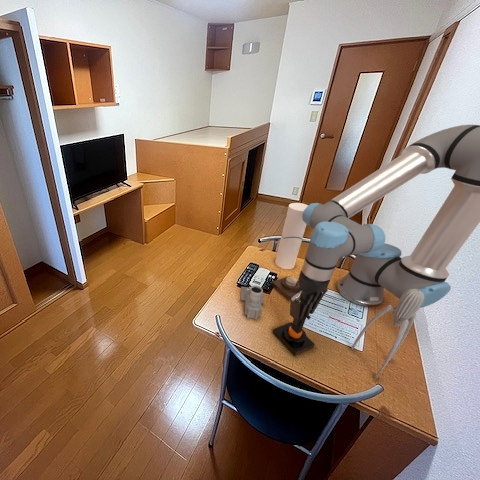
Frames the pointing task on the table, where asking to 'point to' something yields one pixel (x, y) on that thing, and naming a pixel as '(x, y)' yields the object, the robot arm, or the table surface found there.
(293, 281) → the cream button
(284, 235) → the container
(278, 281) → the brown button base
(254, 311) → the grey pipe fitting
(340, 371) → the table surface
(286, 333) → the dark button base
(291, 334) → the orange button
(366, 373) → the table surface
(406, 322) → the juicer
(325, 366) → the table surface
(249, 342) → the table surface
